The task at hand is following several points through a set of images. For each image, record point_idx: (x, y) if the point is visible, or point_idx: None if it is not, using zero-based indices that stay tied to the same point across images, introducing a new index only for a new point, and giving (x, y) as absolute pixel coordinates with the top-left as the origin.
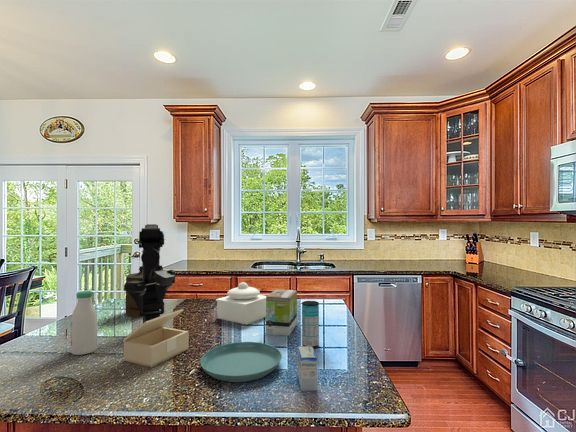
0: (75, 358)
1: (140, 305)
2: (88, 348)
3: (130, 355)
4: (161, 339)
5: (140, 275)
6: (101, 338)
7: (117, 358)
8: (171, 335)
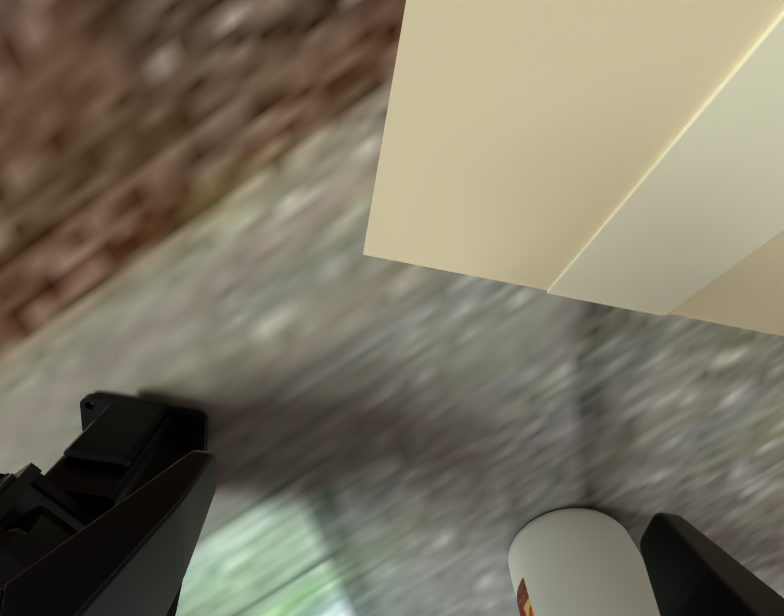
0: None
1: (770, 603)
2: (618, 535)
3: None
4: None
5: None
6: (383, 586)
7: (666, 333)
8: None
